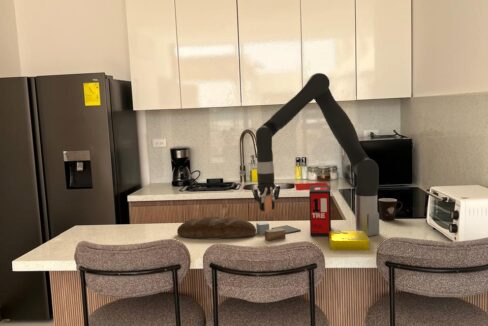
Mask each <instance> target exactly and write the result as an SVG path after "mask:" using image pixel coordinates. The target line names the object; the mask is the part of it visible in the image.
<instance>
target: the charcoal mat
mask: <svg viewBox="0 0 488 326" xmlns="http://www.w3.org/2000/svg"><path fill="white" fill-rule="evenodd" d="M277 228H282V229H284V230H285V235H288V234H292V233H298V232H301V231H302V229H299V228H296V227H293V226H292V225H287V224H284V225H280V226H274V227H270V230H271V229H277Z"/></svg>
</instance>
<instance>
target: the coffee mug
mask: <svg viewBox="0 0 488 326" xmlns="http://www.w3.org/2000/svg"><path fill="white" fill-rule="evenodd" d="M399 203H400V204H401V206H400V208H398V209H397V204H399ZM378 205H379V216H380V220H381V221H383V222H394V221H395V219H396V214H397V213H399V211H401V209H403V206H404V204H403V202H402V201H398V199H395V198H389V197H388V198H386V197H385V198H384V197H383V198H379V199H378Z"/></svg>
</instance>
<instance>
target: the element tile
mask: <svg viewBox="0 0 488 326" xmlns="http://www.w3.org/2000/svg"><path fill="white" fill-rule="evenodd" d="M328 243H329V249H330V250H332V251H361V252H363V251H364V252H366V251H369V250H370V239H369V236H367V234H366V232H364V231H356V230H339V229H335V230H331V231H330V232H329V237H328Z"/></svg>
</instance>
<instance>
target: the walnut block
mask: <svg viewBox="0 0 488 326" xmlns="http://www.w3.org/2000/svg"><path fill="white" fill-rule="evenodd" d="M264 239H265V240H266V241H268V242H273V241H279V240H285V239H286V234H285V230H284V229H282V228H277V229H271V228H270V229H269V230H265V234H264Z"/></svg>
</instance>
